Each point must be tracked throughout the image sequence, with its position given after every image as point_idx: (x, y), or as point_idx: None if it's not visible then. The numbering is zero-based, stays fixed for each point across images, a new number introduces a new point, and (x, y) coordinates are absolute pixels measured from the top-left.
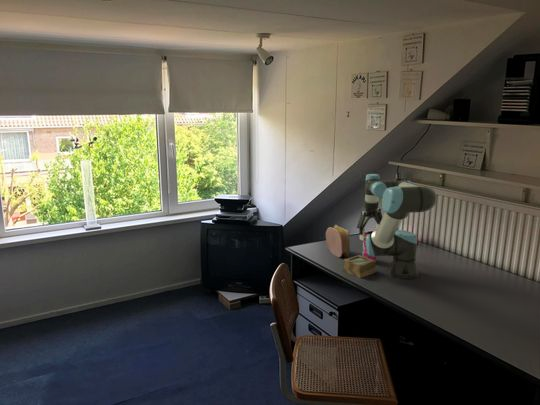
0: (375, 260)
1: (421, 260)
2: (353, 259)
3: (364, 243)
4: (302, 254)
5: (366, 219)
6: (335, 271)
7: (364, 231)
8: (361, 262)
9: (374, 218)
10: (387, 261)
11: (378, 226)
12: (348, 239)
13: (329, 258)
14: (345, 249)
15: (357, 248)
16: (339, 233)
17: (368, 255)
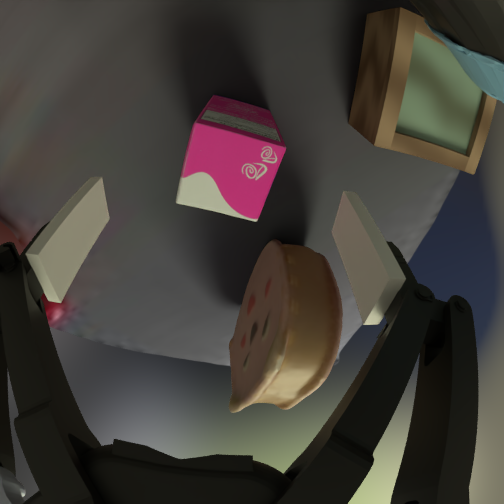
0: (217, 96)
1: (24, 7)
2: (436, 140)
3: (265, 199)
4: (352, 333)
5: (376, 436)
6: (452, 173)
7: (379, 254)
8: (451, 80)
9: (69, 392)
10: (151, 63)
11: (56, 258)
12: (293, 304)
13: (336, 270)
14: (313, 260)
15: (141, 271)
16: (332, 360)
17: (274, 121)
